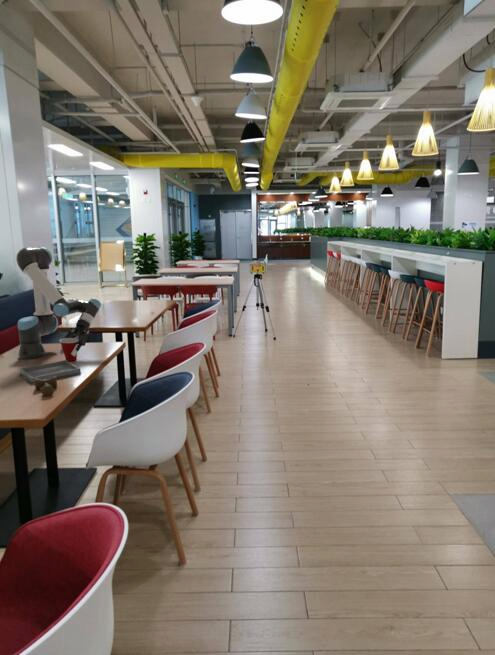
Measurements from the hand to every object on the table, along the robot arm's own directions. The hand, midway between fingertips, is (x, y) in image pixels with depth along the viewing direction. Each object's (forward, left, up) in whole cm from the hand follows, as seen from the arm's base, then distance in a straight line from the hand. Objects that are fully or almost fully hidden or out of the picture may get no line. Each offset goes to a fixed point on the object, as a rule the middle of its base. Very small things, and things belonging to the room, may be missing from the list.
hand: (66, 354), depth 284 cm
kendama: (+48, -25, -5) cm, 55 cm away
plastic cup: (-1, +3, -4) cm, 5 cm away
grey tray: (+20, -15, -4) cm, 25 cm away
